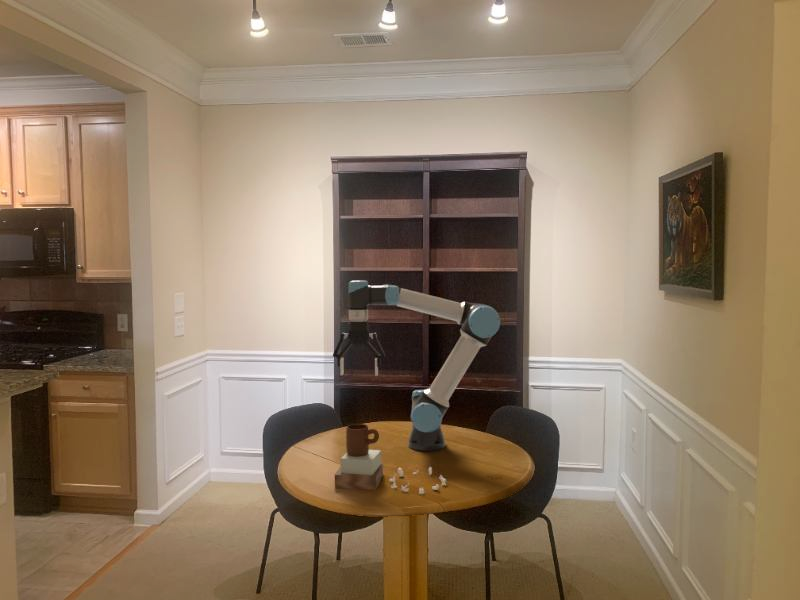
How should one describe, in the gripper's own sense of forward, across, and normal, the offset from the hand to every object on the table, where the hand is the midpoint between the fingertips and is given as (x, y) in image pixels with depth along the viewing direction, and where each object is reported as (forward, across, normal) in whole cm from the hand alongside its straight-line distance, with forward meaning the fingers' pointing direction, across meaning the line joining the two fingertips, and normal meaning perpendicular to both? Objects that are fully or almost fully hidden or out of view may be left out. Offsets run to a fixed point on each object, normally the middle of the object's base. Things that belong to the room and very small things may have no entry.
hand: (359, 375), depth 225 cm
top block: (+27, +6, -27) cm, 39 cm away
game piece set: (+32, +25, -27) cm, 49 cm away
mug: (+22, +6, -27) cm, 36 cm away
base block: (+32, +5, -27) cm, 42 cm away
